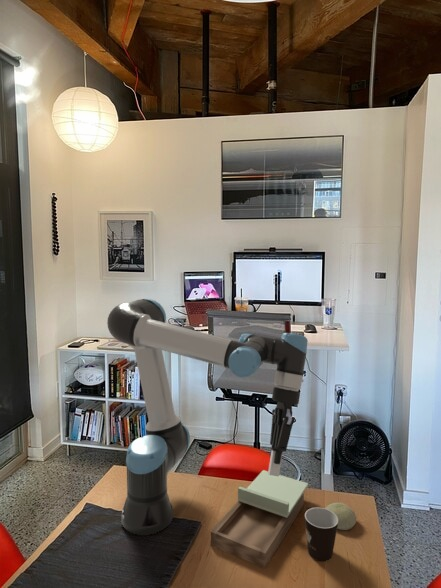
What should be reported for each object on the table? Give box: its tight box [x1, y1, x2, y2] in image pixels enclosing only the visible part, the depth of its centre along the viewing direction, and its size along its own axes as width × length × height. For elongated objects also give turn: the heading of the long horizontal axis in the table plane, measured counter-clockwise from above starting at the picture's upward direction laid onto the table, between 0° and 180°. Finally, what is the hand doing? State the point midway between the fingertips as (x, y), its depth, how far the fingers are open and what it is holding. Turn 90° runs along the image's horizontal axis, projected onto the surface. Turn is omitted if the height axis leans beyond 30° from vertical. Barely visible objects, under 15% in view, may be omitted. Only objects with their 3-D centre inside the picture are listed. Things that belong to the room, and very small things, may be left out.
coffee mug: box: [304, 506, 338, 562], centre depth 112 cm, size 12×9×10 cm
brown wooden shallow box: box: [210, 493, 305, 569], centre depth 122 cm, size 16×30×4 cm, turn 150°
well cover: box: [237, 469, 309, 518], centre depth 130 cm, size 16×19×4 cm
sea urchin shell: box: [325, 502, 357, 531], centre depth 123 cm, size 9×8×8 cm
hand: (273, 474), depth 114 cm, fingers closed
